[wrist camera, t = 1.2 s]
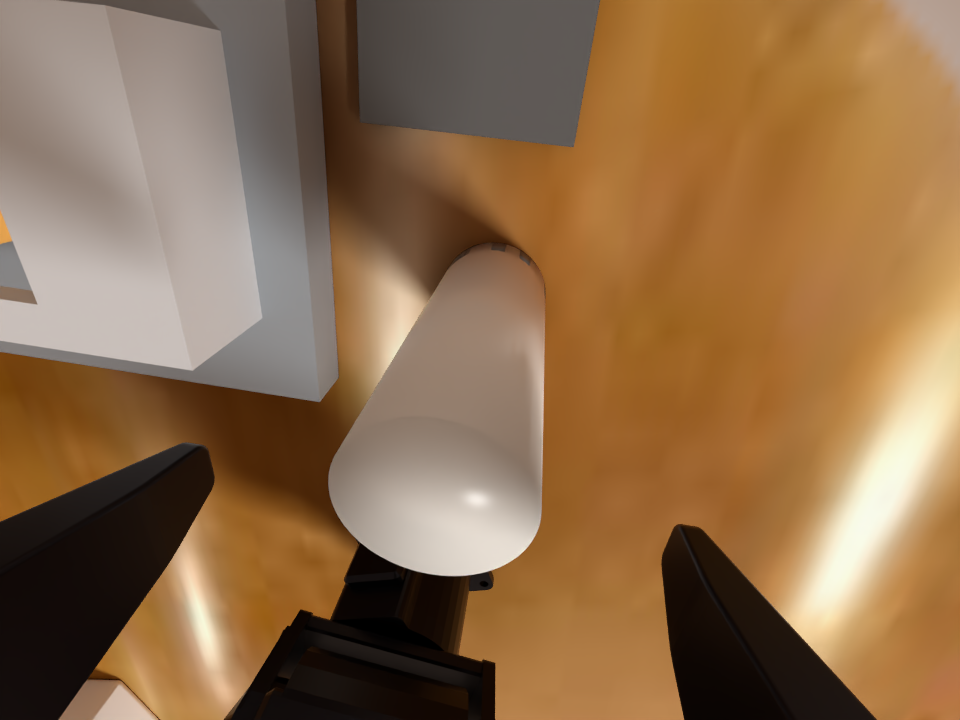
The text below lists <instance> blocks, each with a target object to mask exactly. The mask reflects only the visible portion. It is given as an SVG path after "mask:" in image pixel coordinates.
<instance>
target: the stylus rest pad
mask: <svg viewBox="0 0 960 720" xmlns="http://www.w3.org/2000/svg"><path fill="white" fill-rule="evenodd" d="M599 2H600V0H357V34H358V72H359V109H360V122H362V123H370V124H379V125H388V126H396V127H405V128H413V129H422V130H430V131H439V132H448V133H456V134H465V135H473V136H482V137H490V138H499V139H508V140H516V141H525V142H533V143H542V144H550V145H559V146H568V147H574V143H575V137H576V131H577V126H578V120H579V115H580V109H581V103H582V98H583V92H584V87H585V81H586V75H587V70H588V64H589V58H590V53H591V47H592V42H593V36H594V30H595V25H596V19H597V14H598V8H599Z"/></svg>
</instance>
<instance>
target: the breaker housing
mask: <svg viewBox="0 0 960 720" xmlns="http://www.w3.org/2000/svg"><path fill="white" fill-rule="evenodd" d="M0 211H1V213H2V216H3V218H4V221H5V223H6V226H7V228H8V231H9V233H10V236H11V238H12V241H10V242H6V243H2V244H0V352H5V353H11V354H18V355H24V356H30V357H37V358H43V359H49V360H56V361H62V362H68V363H75V364H81V365H87V366H94V367H100V368H107V369H113V370H119V371H126V372H132V373H138V374H145V375H151V376H157V377H164V378H170V379H176V380H183V381H189V382H195V383H202V384H208V385H215V386H221V387H227V388H234V389H240V390H246V391H253V392H259V393H265V394H272V395H278V396H284V397H291V398H297V399H303V400H310V401H316V402H320V401H321V400H322V399H323V397H324V396H325V395H326V393H327V392H328V391H329V389H330V388H331V387H332V385H333V384H334V383H335V382H336V380H337V379H338V378H339V374H338V358H337V342H336V325H335V309H334V292H333V276H332V260H331V243H330V227H329V211H328V194H327V178H326V162H325V145H324V129H323V113H322V96H321V80H320V64H319V47H318V31H317V15H316V0H0Z"/></svg>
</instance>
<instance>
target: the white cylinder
mask: <svg viewBox="0 0 960 720" xmlns="http://www.w3.org/2000/svg"><path fill="white" fill-rule="evenodd" d="M544 346H545V284H544V280H543V276H542V274H541V272H540V270H539V268H538V267H537V265H536V264H535V262H534V261H533V260H532V259H531V258H530V257H529V256H528V255H527V254H525V253H524V252H522V251H521V250H519V249H517V248H515V247H513V246H510V245H507V244H503V243H483V244H478V245H475V246H472V247H470V248H468V249H466V250H465V251H463V252H462V253H461V254H460V255H458V256H457V257H456V258H455V259H454V261H453V262H452V263H451V265H450V266H449V268H448V270H447V271H446V273H445V275H444V276H443V278H442V280H441V281H440V283H439V284H438V286H437V288H436V289H435V291H434V293H433V294H432V296H431V298H430V299H429V301H428V303H427V304H426V306H425V308H424V309H423V311H422V312H421V314H420V316H419V317H418V319H417V321H416V322H415V324H414V326H413V327H412V329H411V331H410V332H409V334H408V336H407V337H406V339H405V340H404V342H403V344H402V345H401V347H400V349H399V350H398V352H397V354H396V355H395V357H394V359H393V360H392V362H391V364H390V365H389V367H388V368H387V370H386V372H385V373H384V375H383V377H382V378H381V380H380V382H379V383H378V385H377V387H376V388H375V390H374V392H373V393H372V395H371V396H370V398H369V400H368V401H367V403H366V405H365V406H364V408H363V410H362V411H361V413H360V415H359V416H358V418H357V420H356V421H355V423H354V424H353V426H352V428H351V429H350V431H349V433H348V434H347V436H346V438H345V439H344V441H343V443H342V444H341V446H340V448H339V449H338V451H337V452H336V454H335V456H334V458H333V460H332V463H331V466H330V470H329V475H328V488H329V494H330V498H331V501H332V504H333V507H334V509H335V511H336V513H337V515H338V517H339V519H340V520H341V522H342V523H343V525H344V526H345V527H346V528H347V529H348V531H349V532H350V533H351V534H352V535H353V536H354V537H355V538H356V539H357V540H358V541H359V542H360V543H362V544H363V545H364V546H365V547H367V548H368V549H369V550H371V551H372V552H374V553H375V554H377V555H379V556H380V557H382V558H384V559H386V560H388V561H390V562H392V563H394V564H397V565H399V566H402V567H404V568H408V569H411V570H414V571H418V572H422V573H427V574H433V575H441V576H466V575H474V574H479V573H484V572H488V571H491V570H494V569H496V568H499V567H501V566H503V565H505V564H507V563H509V562H511V561H512V560H514V559H515V558H517V557H518V556H519V555H520V554H521V553H522V552H523V551H525V550H526V548H527V547H528V546H529V545H530V543H531V542H532V540H533V539H534V537H535V535H536V533H537V531H538V528H539V525H540V519H541V508H542V454H543V400H544Z"/></svg>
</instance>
